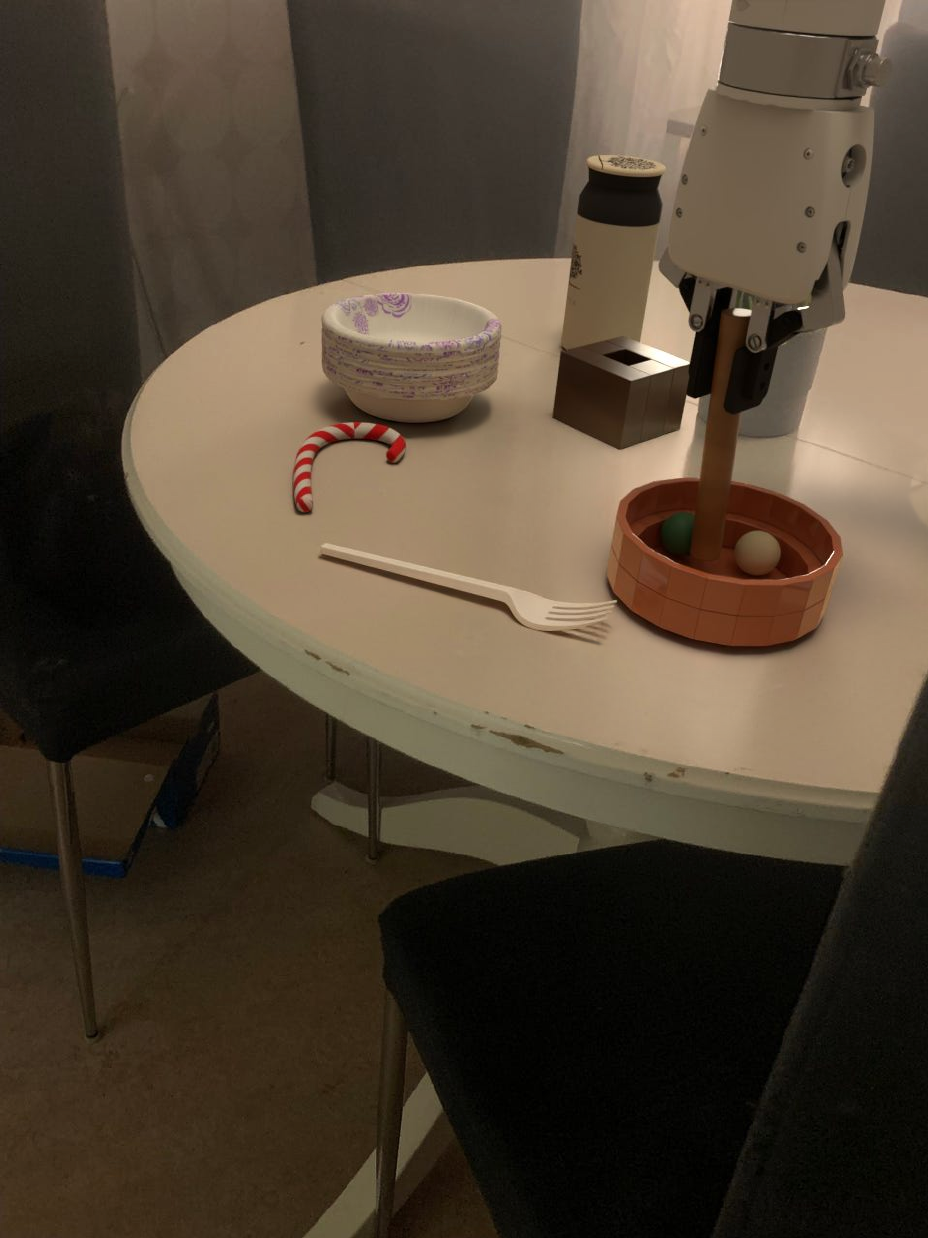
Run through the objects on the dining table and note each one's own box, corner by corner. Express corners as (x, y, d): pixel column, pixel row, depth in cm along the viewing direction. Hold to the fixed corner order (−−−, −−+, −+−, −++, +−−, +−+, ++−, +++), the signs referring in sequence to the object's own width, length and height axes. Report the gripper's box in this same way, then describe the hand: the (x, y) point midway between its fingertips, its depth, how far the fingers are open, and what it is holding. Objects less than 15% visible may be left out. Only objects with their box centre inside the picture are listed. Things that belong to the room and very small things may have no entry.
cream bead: (746, 559, 75) (788, 549, 73) (741, 588, 73) (785, 579, 71) (730, 527, 73) (773, 516, 72) (724, 556, 71) (768, 546, 70)
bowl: (695, 521, 80) (708, 460, 77) (864, 606, 72) (885, 541, 69) (562, 578, 72) (571, 511, 69) (735, 682, 63) (753, 610, 61)
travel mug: (639, 341, 114) (669, 159, 104) (636, 367, 107) (668, 175, 97) (564, 332, 114) (587, 150, 105) (556, 356, 108) (580, 165, 98)
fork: (332, 544, 73) (332, 520, 72) (615, 621, 68) (619, 596, 67) (308, 566, 71) (308, 541, 70) (600, 647, 65) (605, 622, 64)
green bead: (703, 562, 74) (686, 530, 76) (718, 533, 72) (700, 500, 73) (664, 567, 73) (648, 534, 75) (678, 537, 71) (661, 504, 73)
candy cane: (257, 491, 76) (323, 413, 89) (258, 507, 77) (323, 427, 89) (363, 508, 75) (415, 427, 88) (363, 525, 76) (414, 441, 88)
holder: (612, 398, 100) (622, 335, 96) (680, 428, 95) (693, 363, 91) (552, 417, 95) (560, 350, 92) (619, 449, 90) (631, 380, 87)
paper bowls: (383, 360, 104) (386, 276, 99) (524, 399, 98) (533, 312, 93) (285, 408, 92) (283, 316, 88) (437, 455, 86) (443, 359, 82)
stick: (704, 545, 73) (737, 306, 65) (726, 556, 71) (763, 313, 63) (683, 552, 72) (714, 310, 64) (705, 564, 70) (739, 317, 62)
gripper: (971, 89, 54) (870, 431, 64) (714, 47, 63) (662, 351, 74) (894, 96, 49) (798, 462, 60) (630, 49, 59) (587, 372, 69)
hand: (723, 398), depth 66 cm, fingers closed on stick, 2 cm apart
